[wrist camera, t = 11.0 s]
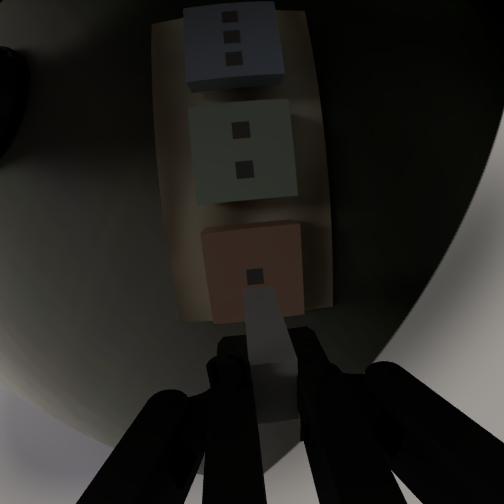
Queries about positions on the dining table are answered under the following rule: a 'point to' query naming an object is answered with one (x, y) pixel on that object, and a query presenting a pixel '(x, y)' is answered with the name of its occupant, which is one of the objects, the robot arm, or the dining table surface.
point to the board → (247, 211)
